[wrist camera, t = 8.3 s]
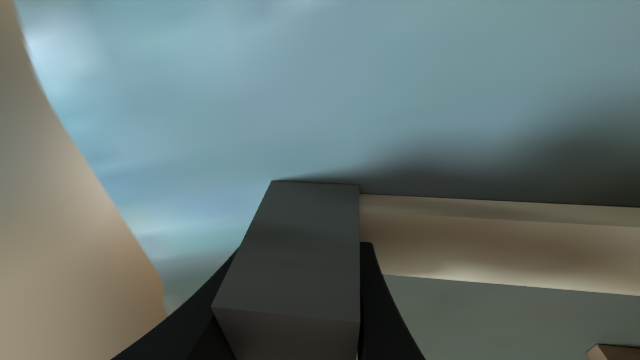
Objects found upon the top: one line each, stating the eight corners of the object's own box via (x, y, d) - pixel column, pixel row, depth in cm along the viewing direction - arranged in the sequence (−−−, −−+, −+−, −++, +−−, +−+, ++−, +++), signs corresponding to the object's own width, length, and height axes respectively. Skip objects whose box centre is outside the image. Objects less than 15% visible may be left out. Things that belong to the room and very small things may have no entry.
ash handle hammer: (619, 279, 13) (783, 453, 8) (283, 253, 15) (245, 378, 10) (700, 200, 10) (1037, 395, 5) (271, 181, 12) (210, 306, 7)
